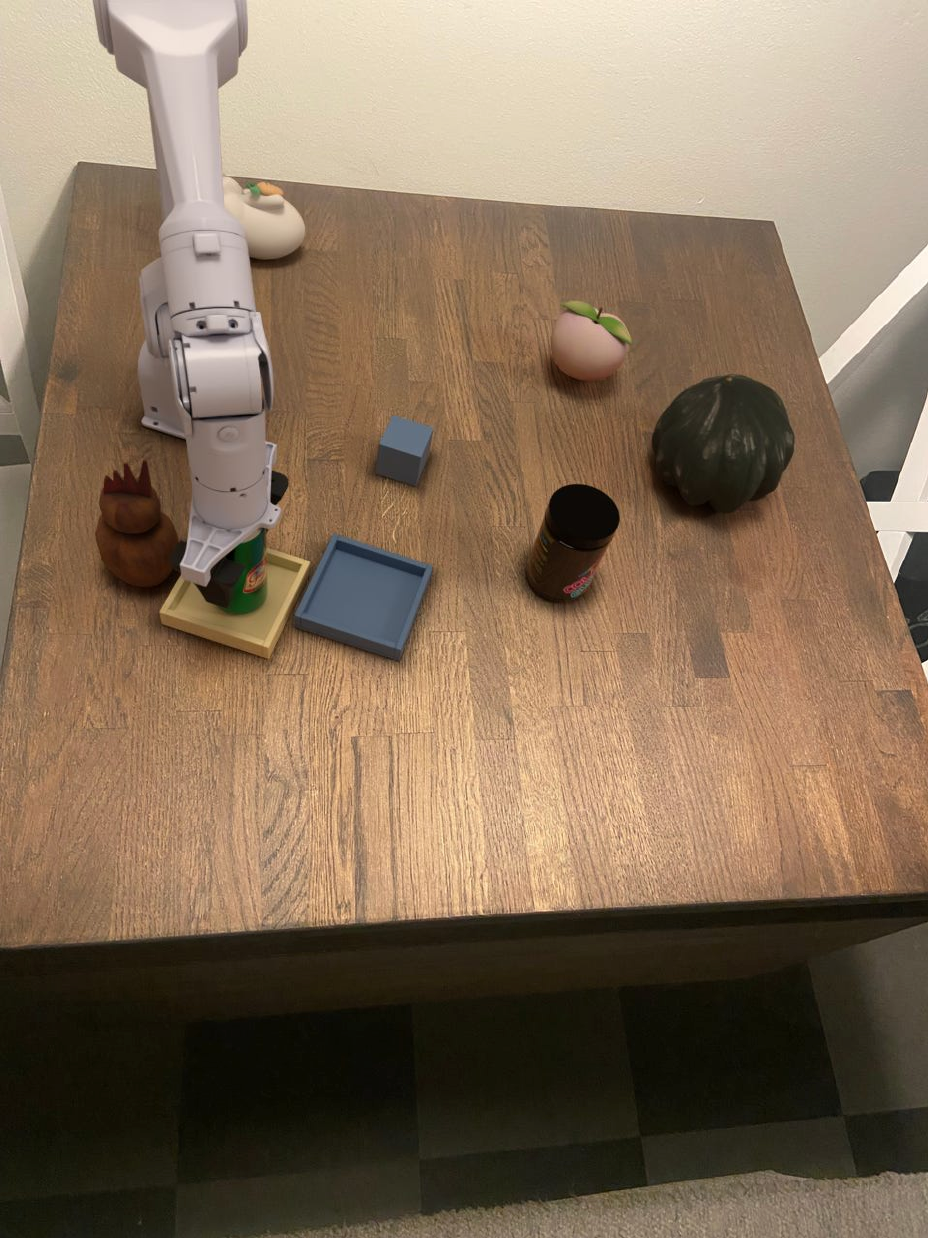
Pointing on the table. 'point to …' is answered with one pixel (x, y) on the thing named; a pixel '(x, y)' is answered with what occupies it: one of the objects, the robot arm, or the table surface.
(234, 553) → the soda can
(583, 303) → the decorative fruit
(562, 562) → the supplement container
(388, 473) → the blue block
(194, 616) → the cream tray
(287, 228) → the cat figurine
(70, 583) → the table surface
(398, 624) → the blue tray
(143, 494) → the wooden figurine
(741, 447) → the squash
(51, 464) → the table surface
